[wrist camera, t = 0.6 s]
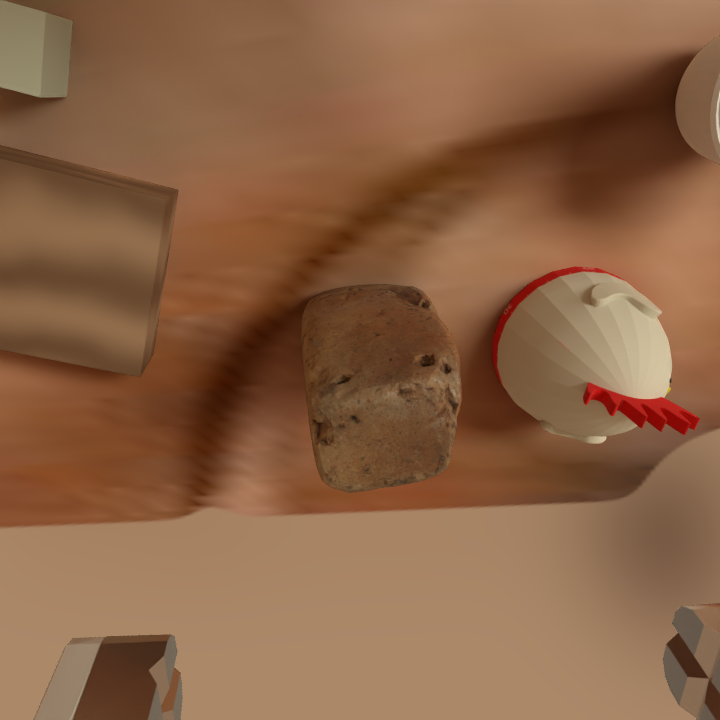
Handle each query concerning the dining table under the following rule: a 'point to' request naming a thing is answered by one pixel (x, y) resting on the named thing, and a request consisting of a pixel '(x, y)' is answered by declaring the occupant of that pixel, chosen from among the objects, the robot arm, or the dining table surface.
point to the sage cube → (34, 51)
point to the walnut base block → (81, 262)
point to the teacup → (701, 102)
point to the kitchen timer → (587, 356)
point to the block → (379, 386)
